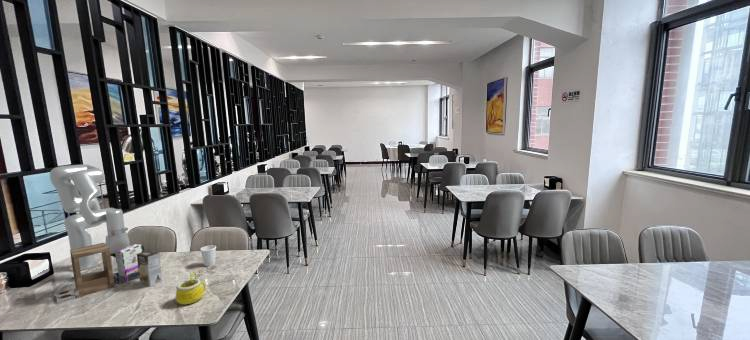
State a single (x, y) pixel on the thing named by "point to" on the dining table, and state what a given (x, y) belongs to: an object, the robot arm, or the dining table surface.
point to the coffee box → (149, 267)
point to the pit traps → (64, 296)
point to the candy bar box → (128, 260)
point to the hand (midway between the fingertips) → (120, 263)
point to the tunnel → (94, 280)
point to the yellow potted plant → (190, 290)
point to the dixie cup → (208, 255)
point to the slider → (130, 276)
